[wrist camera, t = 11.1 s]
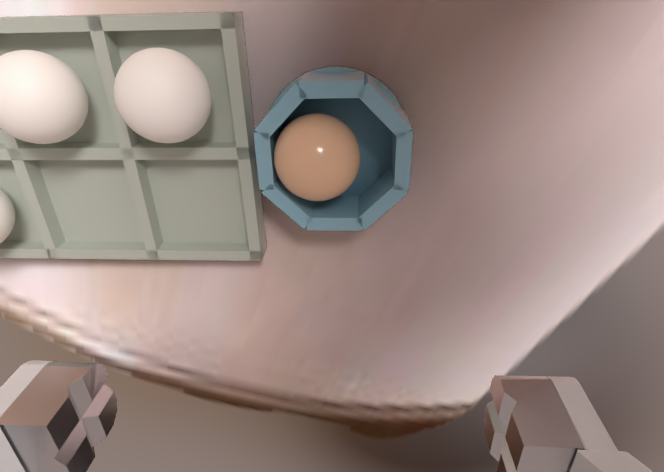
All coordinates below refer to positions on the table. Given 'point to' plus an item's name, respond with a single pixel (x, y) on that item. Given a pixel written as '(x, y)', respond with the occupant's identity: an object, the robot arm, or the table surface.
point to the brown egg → (317, 157)
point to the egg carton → (128, 138)
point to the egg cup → (373, 138)
